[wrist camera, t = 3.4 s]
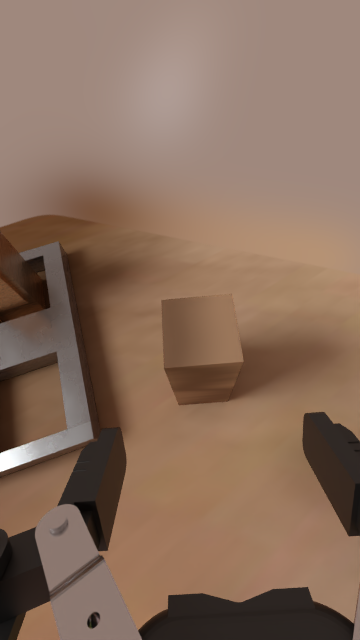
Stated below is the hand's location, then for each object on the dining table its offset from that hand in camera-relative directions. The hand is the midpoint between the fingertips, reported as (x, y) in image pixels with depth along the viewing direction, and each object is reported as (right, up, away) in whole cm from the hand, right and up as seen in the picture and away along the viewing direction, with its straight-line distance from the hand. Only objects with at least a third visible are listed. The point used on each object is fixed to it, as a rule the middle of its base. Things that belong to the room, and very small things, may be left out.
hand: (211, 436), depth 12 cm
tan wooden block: (0, 0, +12) cm, 12 cm away
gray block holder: (-15, +2, +14) cm, 21 cm away
